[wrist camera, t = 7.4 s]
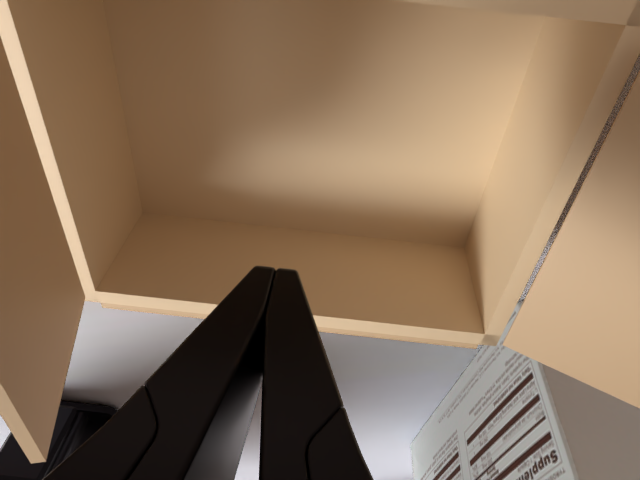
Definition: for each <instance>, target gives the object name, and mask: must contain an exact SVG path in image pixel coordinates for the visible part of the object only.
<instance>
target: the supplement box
mask: <svg viewBox="0 0 640 480" xmlns="http://www.w3.org/2000/svg"><path fill="white" fill-rule="evenodd" d="M522 303H523V301H520V302H518V303H517V305H516V307H515V309H514V311H513V313H512V315H511V317H510V319H509V321H508V323H507V325H506V327H505V329H504V331H503V333H502V335H501V337H500V339H499V341H498V343H497V345H496V346H489V345H483V347H482V348H481V349H480V351H479V352H478V353H477V355H476V356H475V358H474V359H473V360H472V362H471V363H470V364H469V366H468V367H467V368H466V370H465V371H464V372H463V374H462V375H461V376H460V378H459V379H458V380H457V382H456V383H455V385H454V386H453V387H452V389H451V390H450V391H449V392H448V394H447V395H446V396H445V398H444V399H443V400H442V402H441V403H440V405H439V406H438V407H437V409H436V410H435V411H434V413H433V414H432V415H431V417H430V418H429V419H428V421H427V422H426V423H425V425H424V426H423V427H422V429H421V430H420V432H419V433H418V435H417V436H416V437H415V438H414V440H413V441H412V443H411V445H410V448H411V457H412V468H413V480H640V408H637V407H635V406H633V405H631V404H629V403H627V402H624V401H622V400H620V399H618V398H616V397H614V396H612V395H609V394H607V393H605V392H603V391H601V390H599V389H596V388H594V387H592V386H590V385H588V384H586V383H583V382H581V381H579V380H577V379H575V378H573V377H570V376H568V375H566V374H564V373H562V372H560V371H557V370H555V369H553V368H551V367H549V366H547V365H544V364H542V363H540V362H538V361H536V360H534V359H531V358H529V357H527V356H525V355H523V354H521V353H519V352H516V351H514V350H512V349H510V348H508V347H506V346H503V342H504V339H505V337H506V335H507V333H508V331H509V329H510V327H511V325H512V323H513V321H514V319H515V317H516V315H517V313H518V311H519V309H520V307H521V305H522Z"/></svg>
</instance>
